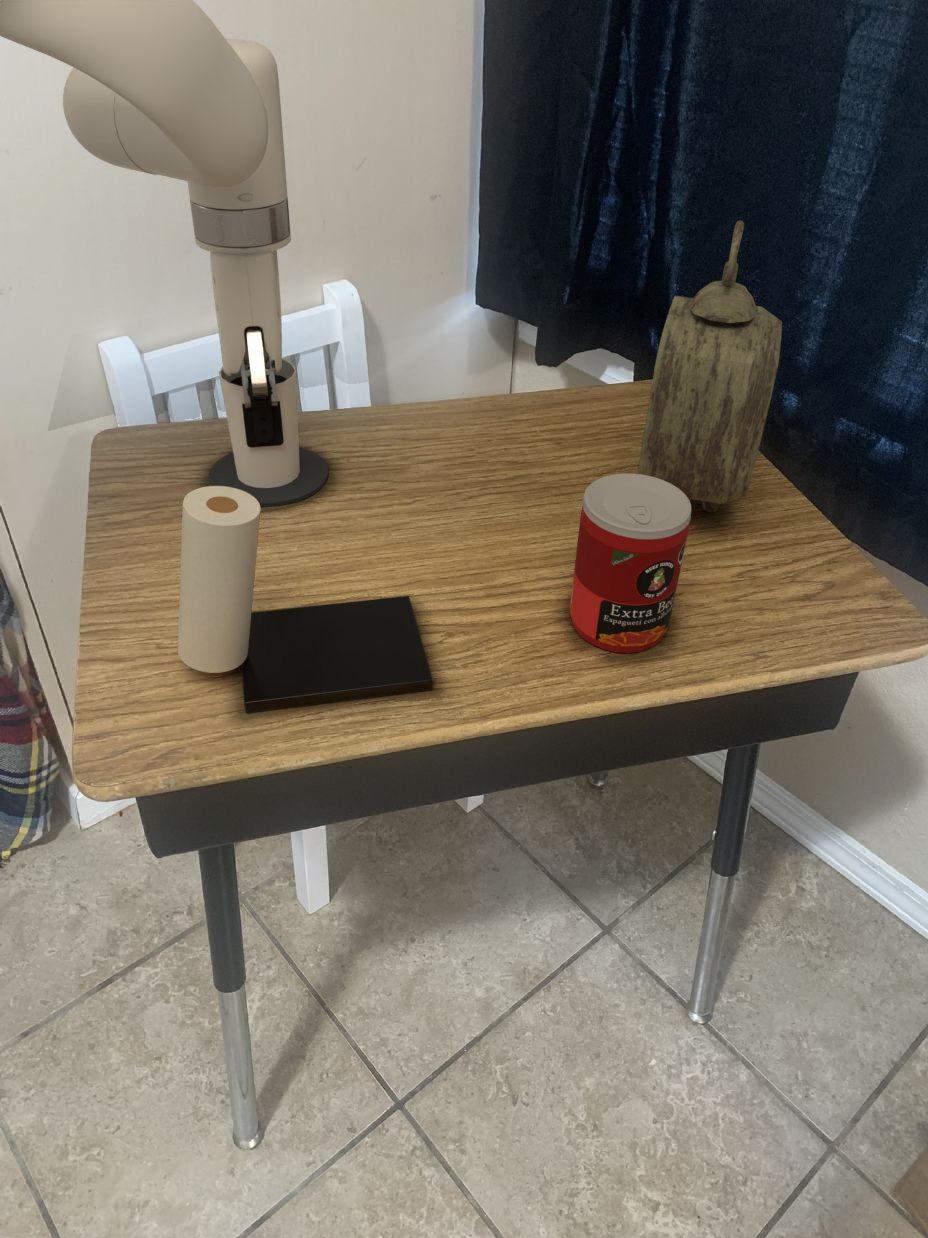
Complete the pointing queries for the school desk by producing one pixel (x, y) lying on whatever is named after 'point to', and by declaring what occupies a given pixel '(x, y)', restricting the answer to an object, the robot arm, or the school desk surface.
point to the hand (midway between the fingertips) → (263, 427)
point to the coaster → (299, 489)
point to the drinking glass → (270, 461)
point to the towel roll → (217, 577)
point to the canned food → (628, 561)
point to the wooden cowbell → (711, 390)
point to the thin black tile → (333, 654)
